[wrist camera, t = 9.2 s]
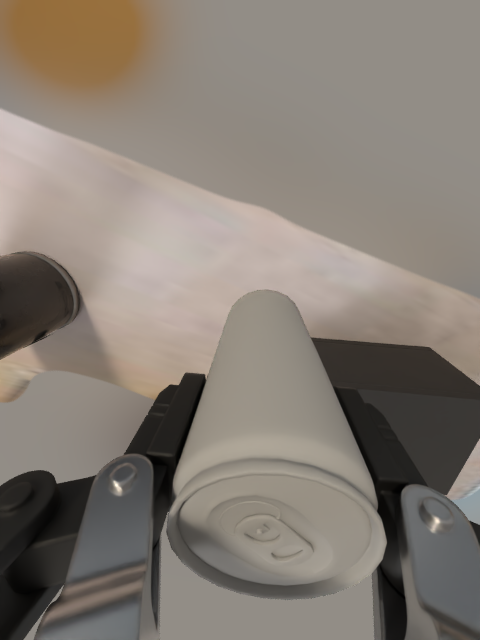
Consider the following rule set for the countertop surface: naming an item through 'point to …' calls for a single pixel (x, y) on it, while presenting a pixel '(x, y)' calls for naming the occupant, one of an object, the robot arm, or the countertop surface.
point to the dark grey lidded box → (412, 401)
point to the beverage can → (273, 467)
